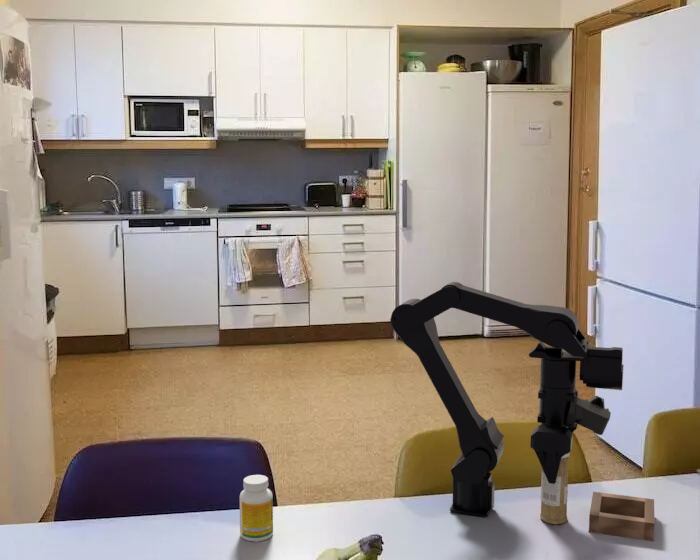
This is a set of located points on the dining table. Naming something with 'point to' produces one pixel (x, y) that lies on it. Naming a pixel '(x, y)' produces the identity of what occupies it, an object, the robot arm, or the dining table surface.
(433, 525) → the dining table surface
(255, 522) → the supplement bottle
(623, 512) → the walnut socket
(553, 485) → the sprinkles bottle
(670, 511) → the dining table surface
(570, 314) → the robot arm
